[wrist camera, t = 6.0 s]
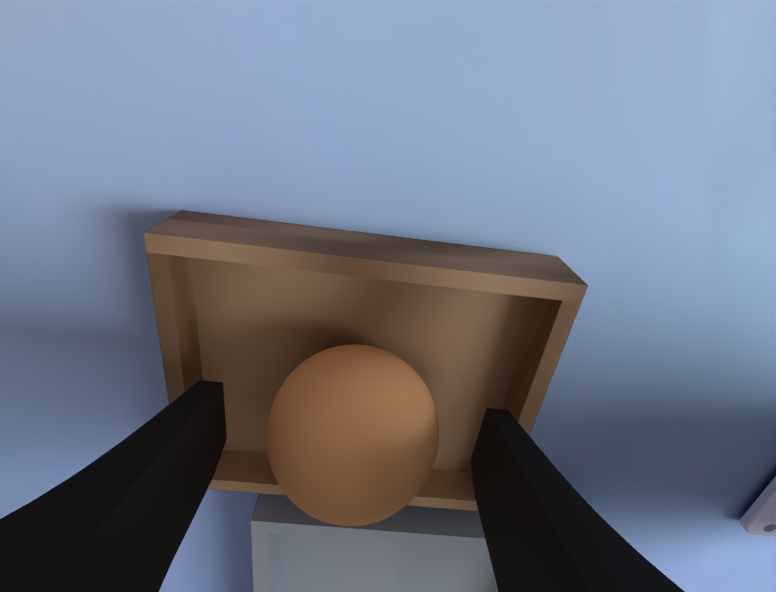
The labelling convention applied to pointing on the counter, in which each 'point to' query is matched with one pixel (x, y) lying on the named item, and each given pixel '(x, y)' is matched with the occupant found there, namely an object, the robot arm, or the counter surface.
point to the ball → (352, 435)
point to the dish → (368, 551)
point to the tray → (355, 327)
